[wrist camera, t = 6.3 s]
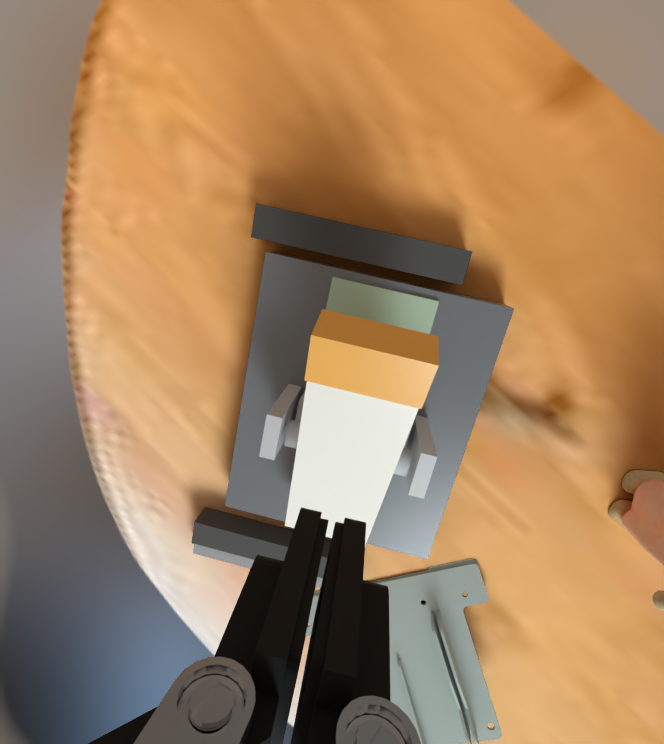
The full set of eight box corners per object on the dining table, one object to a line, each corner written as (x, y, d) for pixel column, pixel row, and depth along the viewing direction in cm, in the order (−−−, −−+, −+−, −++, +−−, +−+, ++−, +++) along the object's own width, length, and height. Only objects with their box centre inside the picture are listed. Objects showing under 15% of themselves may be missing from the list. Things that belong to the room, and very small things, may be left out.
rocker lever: (451, 339, 18) (453, 369, 17) (379, 519, 27) (376, 551, 25) (309, 305, 19) (296, 331, 17) (283, 494, 28) (273, 524, 26)
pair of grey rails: (466, 251, 24) (472, 251, 23) (365, 587, 32) (364, 606, 30) (248, 202, 25) (238, 199, 23) (199, 542, 32) (189, 558, 31)
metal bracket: (543, 771, 27) (327, 793, 31) (523, 702, 33) (342, 726, 36) (474, 554, 28) (270, 597, 31) (465, 523, 34) (294, 562, 37)
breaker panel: (504, 304, 25) (547, 324, 18) (424, 539, 30) (435, 623, 23) (274, 251, 26) (235, 252, 19) (234, 490, 31) (193, 556, 24)
